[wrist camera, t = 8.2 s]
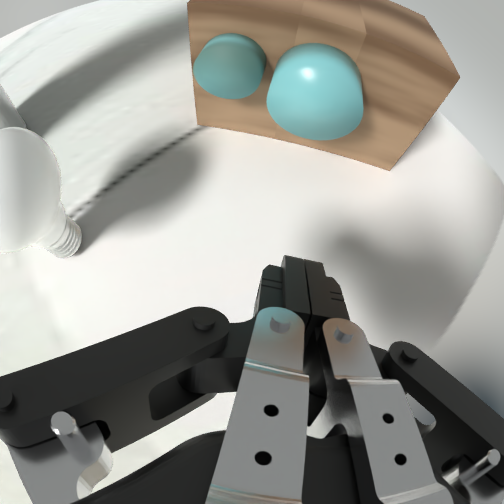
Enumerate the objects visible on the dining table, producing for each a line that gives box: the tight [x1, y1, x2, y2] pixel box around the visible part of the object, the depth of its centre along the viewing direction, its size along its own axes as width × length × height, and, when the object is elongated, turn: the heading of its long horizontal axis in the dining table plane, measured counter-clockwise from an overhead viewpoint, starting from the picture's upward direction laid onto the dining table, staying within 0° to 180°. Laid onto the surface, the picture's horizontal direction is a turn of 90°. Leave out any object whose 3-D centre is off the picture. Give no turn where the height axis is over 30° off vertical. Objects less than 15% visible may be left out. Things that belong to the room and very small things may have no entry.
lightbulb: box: [0, 127, 82, 258], centre depth 13 cm, size 6×6×11 cm
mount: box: [187, 0, 460, 171], centre depth 18 cm, size 12×16×11 cm
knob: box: [266, 43, 363, 140], centre depth 16 cm, size 15×5×5 cm, turn 168°
